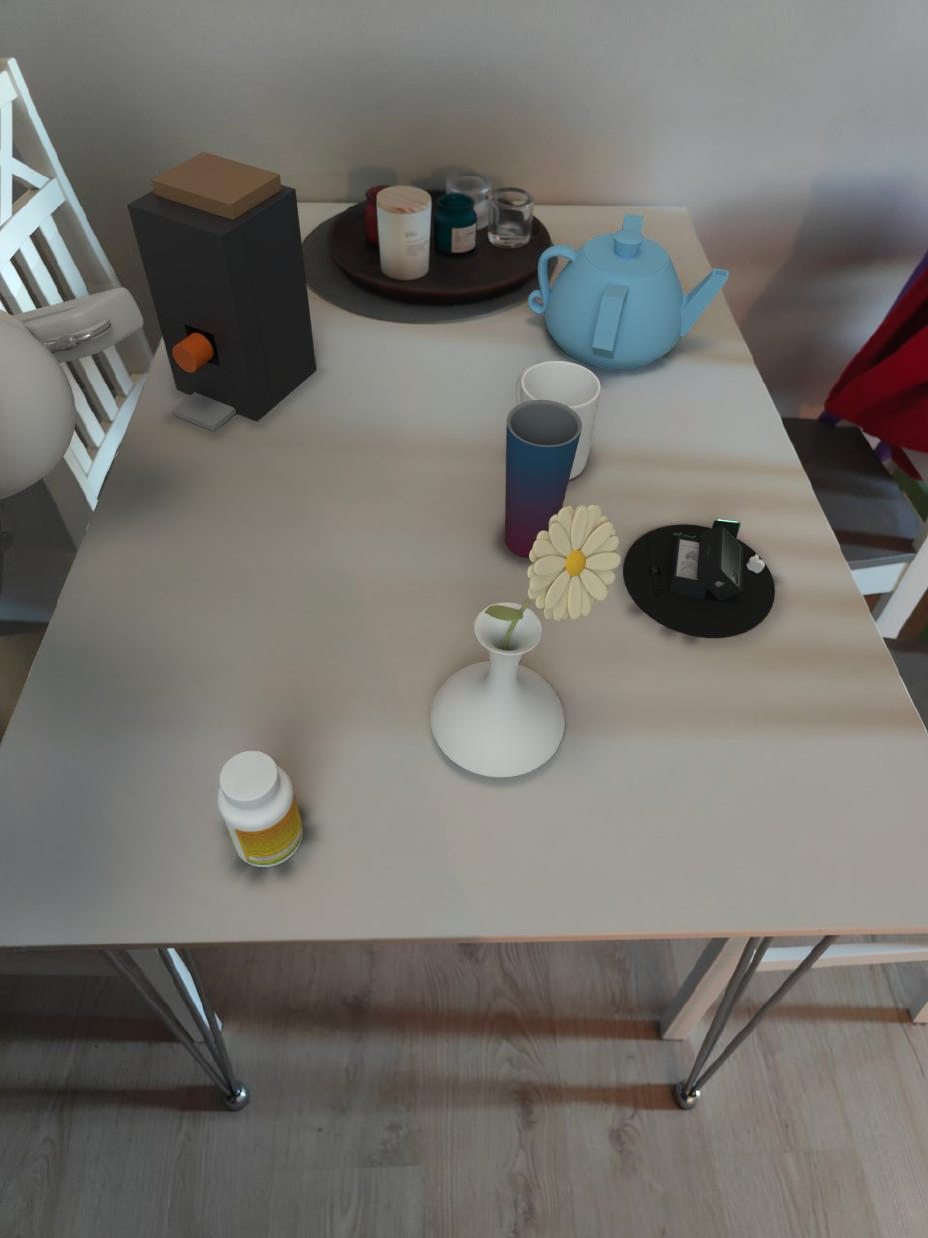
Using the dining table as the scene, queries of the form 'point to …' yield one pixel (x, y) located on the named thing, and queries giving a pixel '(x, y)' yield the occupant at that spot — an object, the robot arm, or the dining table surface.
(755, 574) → the black round display stand
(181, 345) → the power button
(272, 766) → the supplement bottle
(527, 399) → the mug
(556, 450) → the cup
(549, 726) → the flower in vase
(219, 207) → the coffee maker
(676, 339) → the teapot
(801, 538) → the dining table surface
